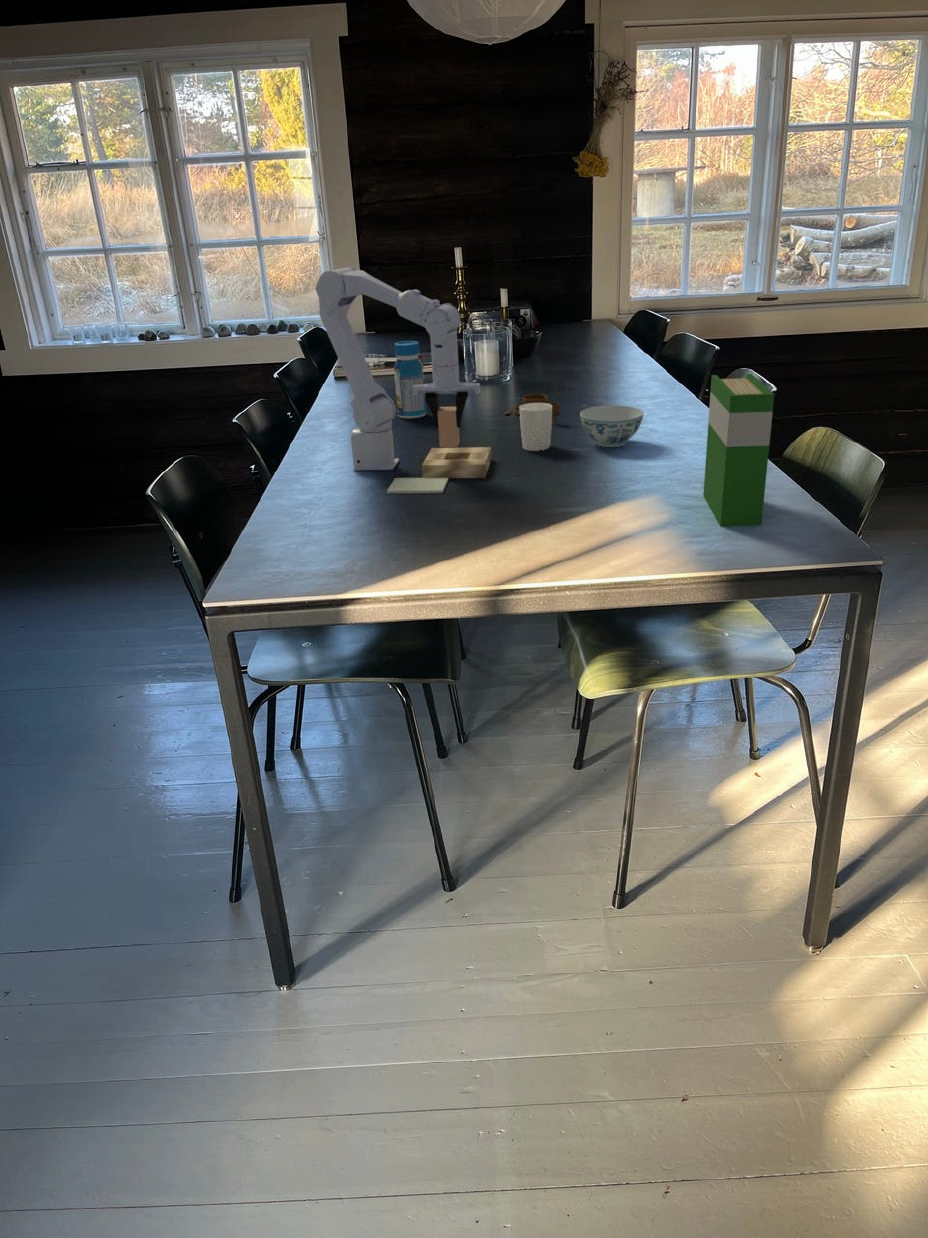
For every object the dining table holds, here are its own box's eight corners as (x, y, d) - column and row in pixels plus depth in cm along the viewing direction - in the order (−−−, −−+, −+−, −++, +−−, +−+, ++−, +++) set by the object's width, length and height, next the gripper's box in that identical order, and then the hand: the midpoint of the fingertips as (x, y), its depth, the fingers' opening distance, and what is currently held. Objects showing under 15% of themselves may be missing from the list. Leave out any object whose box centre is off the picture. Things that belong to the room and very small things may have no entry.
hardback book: (703, 495, 184) (711, 375, 174) (740, 494, 184) (751, 373, 173) (720, 526, 168) (730, 395, 158) (761, 525, 168) (774, 394, 157)
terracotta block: (439, 447, 203) (437, 411, 200) (442, 442, 207) (440, 406, 203) (457, 446, 203) (455, 410, 199) (459, 441, 206) (457, 406, 203)
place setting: (570, 409, 258) (570, 388, 255) (561, 427, 241) (561, 404, 238) (509, 408, 262) (508, 388, 259) (495, 426, 244) (495, 404, 242)
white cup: (526, 453, 218) (525, 411, 214) (515, 445, 225) (514, 404, 220) (557, 449, 220) (557, 408, 215) (545, 441, 227) (545, 401, 222)
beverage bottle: (414, 420, 253) (408, 346, 244) (391, 417, 258) (384, 344, 249) (433, 413, 259) (428, 341, 250) (410, 410, 264) (405, 339, 255)
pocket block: (422, 478, 204) (422, 465, 203) (432, 460, 217) (431, 447, 215) (485, 477, 202) (484, 464, 201) (491, 459, 215) (490, 447, 213)
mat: (387, 493, 196) (386, 490, 195) (395, 480, 204) (395, 477, 203) (442, 493, 194) (442, 490, 194) (448, 480, 202) (448, 477, 202)
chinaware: (641, 453, 214) (642, 420, 210) (577, 452, 217) (577, 420, 213) (643, 436, 227) (644, 405, 223) (582, 435, 230) (582, 405, 226)
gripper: (408, 368, 194) (413, 431, 200) (476, 366, 193) (479, 430, 199) (414, 362, 201) (418, 423, 207) (479, 360, 199) (482, 422, 205)
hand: (448, 426), depth 203 cm, fingers closed on terracotta block, 4 cm apart
